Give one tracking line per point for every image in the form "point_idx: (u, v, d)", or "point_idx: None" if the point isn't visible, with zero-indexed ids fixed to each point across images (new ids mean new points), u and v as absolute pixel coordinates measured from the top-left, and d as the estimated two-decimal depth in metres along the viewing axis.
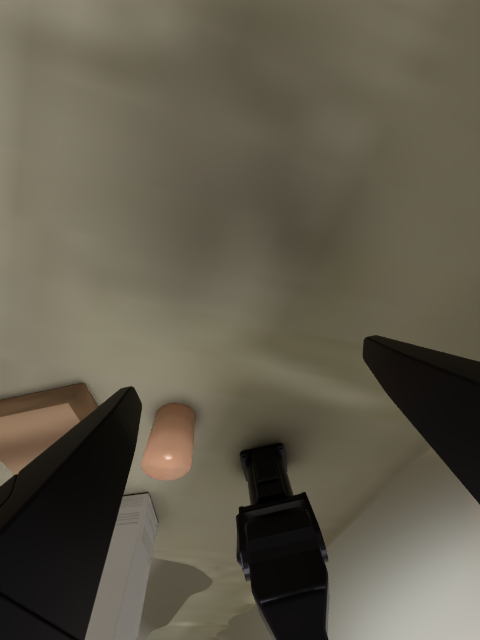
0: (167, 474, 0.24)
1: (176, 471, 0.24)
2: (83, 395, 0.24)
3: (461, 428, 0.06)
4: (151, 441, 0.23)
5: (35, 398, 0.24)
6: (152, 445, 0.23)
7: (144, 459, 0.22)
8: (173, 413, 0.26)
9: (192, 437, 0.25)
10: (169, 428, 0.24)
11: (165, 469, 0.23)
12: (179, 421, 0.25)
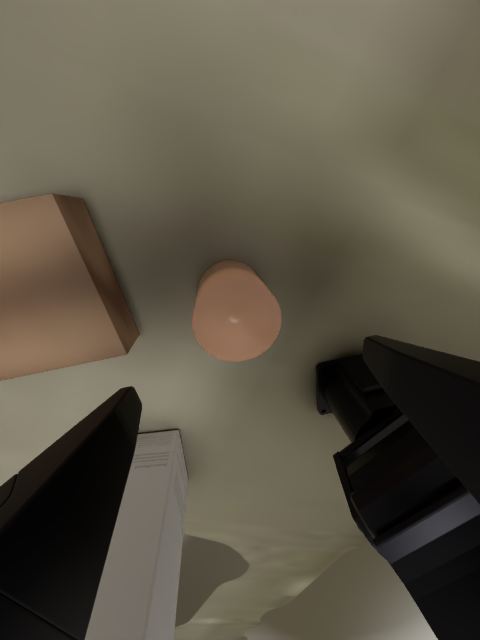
0: (235, 348, 0.13)
1: (252, 342, 0.13)
2: (82, 215, 0.14)
3: (461, 428, 0.06)
4: (208, 283, 0.13)
5: None
6: (212, 283, 0.12)
7: (199, 305, 0.12)
8: (234, 264, 0.15)
9: None
10: (237, 270, 0.14)
11: (233, 334, 0.13)
12: (248, 270, 0.15)
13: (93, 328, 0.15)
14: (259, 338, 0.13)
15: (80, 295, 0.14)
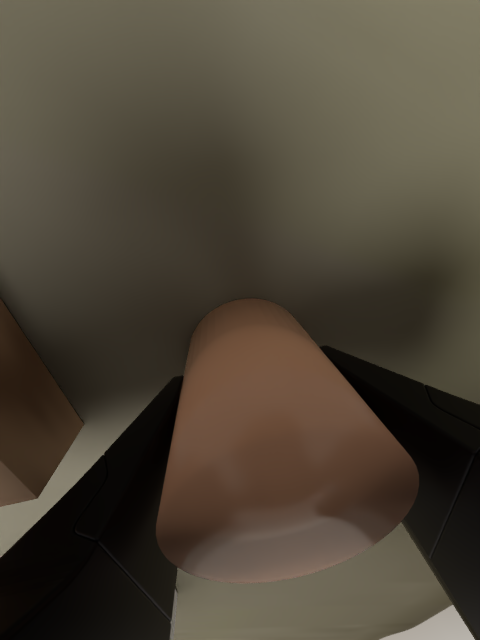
0: (279, 562, 0.05)
1: (324, 548, 0.05)
2: None
3: None
4: (207, 397, 0.05)
5: None
6: (220, 415, 0.04)
7: (176, 499, 0.04)
8: (264, 314, 0.07)
9: None
10: (279, 346, 0.05)
11: (276, 541, 0.04)
12: (298, 333, 0.07)
13: None
14: (344, 540, 0.05)
15: None
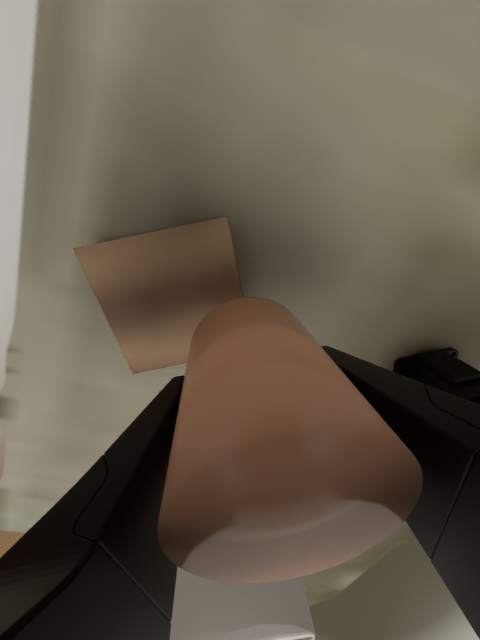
0: (281, 561, 0.05)
1: (326, 547, 0.05)
2: None
3: None
4: (209, 396, 0.04)
5: None
6: (222, 414, 0.04)
7: (178, 499, 0.04)
8: (265, 313, 0.07)
9: None
10: (281, 344, 0.05)
11: (278, 541, 0.04)
12: (299, 332, 0.07)
13: None
14: (346, 539, 0.05)
15: (228, 298, 0.16)
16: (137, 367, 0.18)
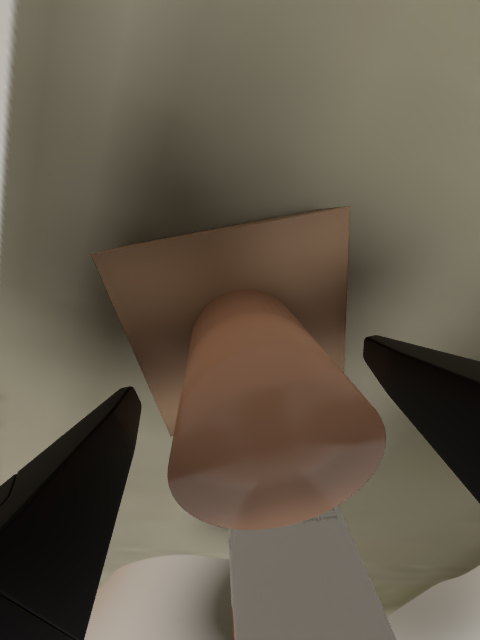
0: (270, 509, 0.06)
1: (308, 496, 0.06)
2: None
3: (462, 428, 0.06)
4: (209, 367, 0.05)
5: (230, 226, 0.10)
6: (220, 378, 0.05)
7: (185, 443, 0.04)
8: (259, 303, 0.08)
9: None
10: (271, 326, 0.06)
11: (267, 488, 0.05)
12: (289, 318, 0.07)
13: None
14: (325, 489, 0.06)
15: (324, 332, 0.11)
16: None
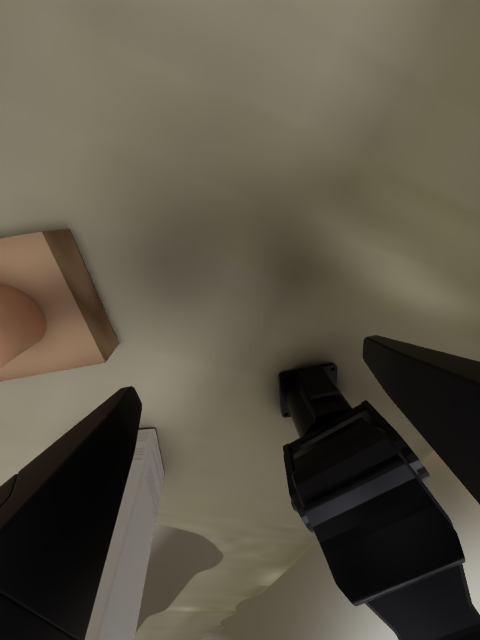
0: None
1: None
2: (68, 244, 0.16)
3: (461, 428, 0.06)
4: None
5: None
6: None
7: None
8: None
9: (0, 333, 0.13)
10: None
11: None
12: None
13: (75, 340, 0.17)
14: None
15: (64, 313, 0.16)
16: None
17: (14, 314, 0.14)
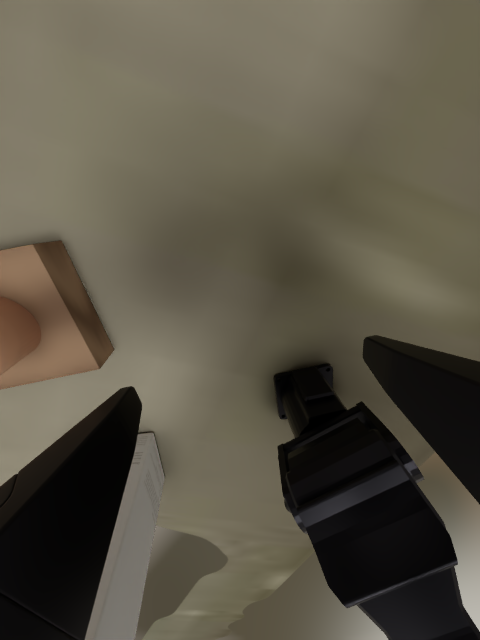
0: None
1: None
2: (60, 255, 0.17)
3: (461, 428, 0.06)
4: None
5: None
6: None
7: None
8: None
9: None
10: None
11: None
12: None
13: (69, 348, 0.17)
14: None
15: (58, 321, 0.17)
16: None
17: (9, 325, 0.14)
